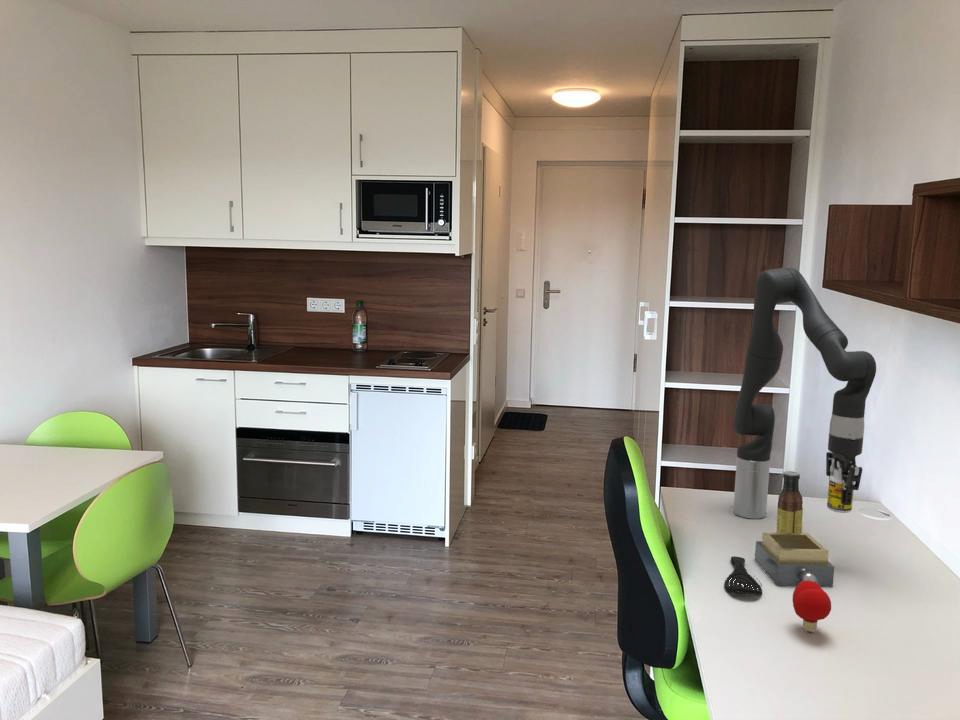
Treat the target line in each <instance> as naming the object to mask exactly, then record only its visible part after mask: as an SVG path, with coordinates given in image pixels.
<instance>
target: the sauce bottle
mask: <svg viewBox="0 0 960 720" xmlns="http://www.w3.org/2000/svg"><path fill="white" fill-rule="evenodd" d="M782 479H783V485H782V490H781V491H780V494H779V495H778V501H777V509H776V510H777V512H776V514H777V515H776V517H777V518H776V533H803V514H804V513H803V509H804V508H803V502H804V501H803V495H802V493H801V492H800V490H799V489H800V488H799V485H800V484H799V483H800V482H799V481H800V479H801V478H800V473H799V472H798V471H791V470H785V471H784V472H782Z"/></svg>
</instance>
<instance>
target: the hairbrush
mask: <svg viewBox="0 0 960 720" xmlns="http://www.w3.org/2000/svg"><path fill="white" fill-rule="evenodd" d="M730 561H731V562H732V563H733V564H734V566H735V568H734V569H733V571H731V573H730V574H729V575H728V577H726V579H727V580H726V579H725V580H724V584H723V587H724V586H725V588H724V589H726V590H725V591H727V592H734V593H743V594H744V593H745V594H752V595H754V594H755V595H763V589H762V586H763V583H761V581H760V580H759V578H757V577H756V576H755V578H754V577H753V576H752V575H751V574H749V573H748V572H749V571H750V570H748V571H747V568H746V567H745V563H746V560H745V558H744V557H741V556H730ZM731 578H732V579H731ZM730 579H731V580H730ZM735 579H736V580H735ZM729 580H730V582H729ZM734 580H735V581H734ZM733 581H734V583H733ZM737 583H739V584H737ZM741 584H743V585H744V586H742V585H741ZM746 584H747V585H746ZM729 585H730V586H729ZM751 585H752V586H751ZM748 586H749V587H748ZM752 587H753V588H752ZM757 588H758V589H757ZM753 589H754V590H753Z"/></svg>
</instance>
